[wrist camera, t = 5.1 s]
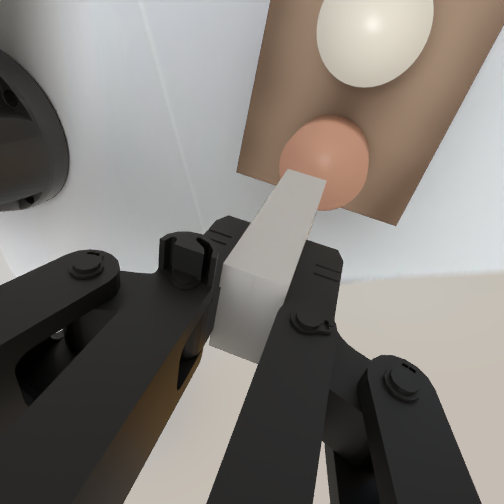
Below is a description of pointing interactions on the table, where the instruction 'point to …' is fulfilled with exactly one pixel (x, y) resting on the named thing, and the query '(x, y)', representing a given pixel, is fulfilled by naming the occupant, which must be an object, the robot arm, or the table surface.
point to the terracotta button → (329, 157)
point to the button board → (366, 97)
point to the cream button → (372, 38)
